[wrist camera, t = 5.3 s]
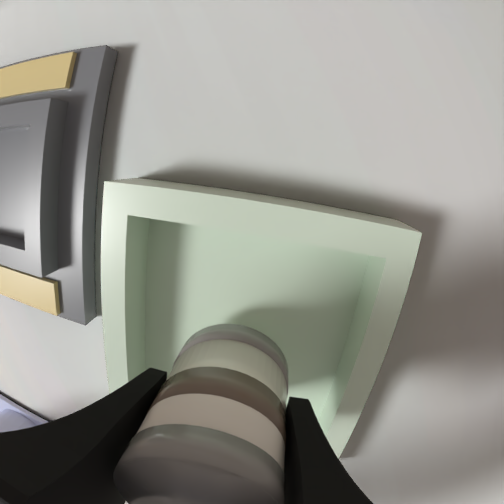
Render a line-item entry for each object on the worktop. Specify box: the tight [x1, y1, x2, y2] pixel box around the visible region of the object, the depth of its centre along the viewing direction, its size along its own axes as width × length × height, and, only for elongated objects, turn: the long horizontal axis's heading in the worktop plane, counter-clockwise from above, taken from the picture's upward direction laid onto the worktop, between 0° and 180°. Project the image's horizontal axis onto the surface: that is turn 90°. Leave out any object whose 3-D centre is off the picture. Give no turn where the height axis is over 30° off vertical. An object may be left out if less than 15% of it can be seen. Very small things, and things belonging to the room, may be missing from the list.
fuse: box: [113, 324, 288, 504], centre depth 9 cm, size 4×4×6 cm
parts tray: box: [101, 178, 422, 459], centre depth 12 cm, size 13×10×2 cm
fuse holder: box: [0, 45, 118, 325], centre depth 12 cm, size 12×10×2 cm
